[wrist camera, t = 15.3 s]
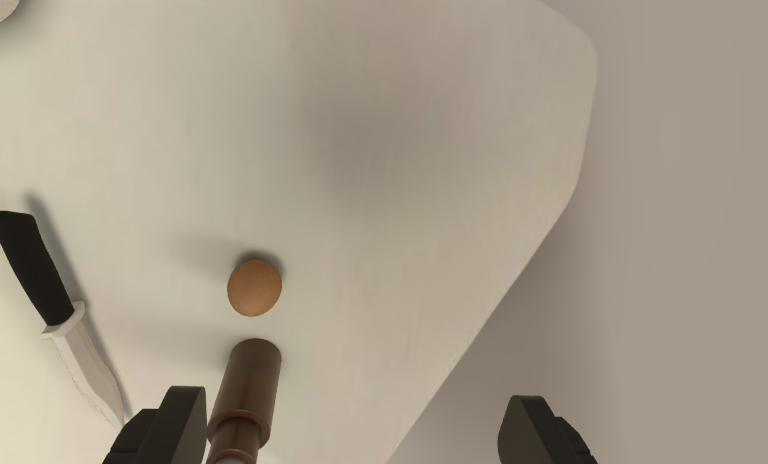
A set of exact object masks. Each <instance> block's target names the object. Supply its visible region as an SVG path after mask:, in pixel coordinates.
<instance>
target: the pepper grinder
mask: <svg viewBox="0 0 768 464" xmlns="http://www.w3.org/2000/svg"><path fill="white" fill-rule="evenodd" d="M280 366H281V354H280V352H279V350H278V348H277V347H276V346H275V345H273V344H272V343H270V342H268V341H266V340H262V339H249V340H245V341H243V342H241V343H239V344H238V345H237V346H236V347H235V348H234V349H233V350H232V352H231V355H230V358H229V361H228V364H227V368H226V371H225V374H224V377H223V380H222V383H221V386H220V389H219V392H218V395H217V398H216V401H215V404H214V408H213V411H212V414H211V417H210V420H209V423H208V426H207V438H208V441H209V442H210V444H211V447H210V451H209V454H208V457H207V461H206V464H256V462H257V456H258V450H259V449H260V448H262V447H263V446H264V445H265V444H266V443H267V441H268V439H269V437H270V431H271V425H272V418H273V412H274V405H275V399H276V392H277V386H278V379H279V373H280Z"/></svg>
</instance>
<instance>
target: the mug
mask: <svg viewBox="0 0 768 464" xmlns="http://www.w3.org/2000/svg"><path fill="white" fill-rule="evenodd" d="M19 1H20V0H0V22H1V21H3V20H4V19H6V18H7V17H8V16H9V15H10V14H11V13H12V12H13V11H14V10H15V8H16V7H17V5H18V3H19Z"/></svg>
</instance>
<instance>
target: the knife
mask: <svg viewBox="0 0 768 464" xmlns="http://www.w3.org/2000/svg"><path fill="white" fill-rule="evenodd" d="M0 244H1V246H2V248H3V250H4V252H5V254H6V257H7V259H8V261H9V263H10V265H11V267H12V269H13V271H14V273H15V275H16V276H17V278H18V280H19V282H20V283H21V285H22V287H23V289H24V290H25V292H26V294H27V295H28V297H29V299H30V300H31V302H32V303H33V305H34V306H35V308H36V309H37V311H38V312H39V314H40V315H41V316H42V318H43V319H44V321H45V322H46V324H47V326H46V327H45V329H44V331H43V332H42V333H41V334H40V336H41V338H42V339H52V341H53V342H54V344H55V346H56V348H57V350H58V352H59V354H60V356H61V357H62V359H63V361H64V363H65V365H66V367H67V369H68V371H69V373H70V374H71V376H72V378H73V380H74V382H75V384H76V386H77V387H78V389H79V390H80V392H81V393H82V394H83V395H84V396H85V397H86V398H87V399H88V400H90V401H91V402H92V403H93V404H94V405H95V406H96V407H97V408H98V409H99V410H100V412H101V413H102V414H103V416H104V417H105V418H106V420H107V421H108V423H109V425H110V426H111V428H112V429H113V430H114V431H115V432H116V433H117V434H118V435H119V433H120V431H121V429H122V428H123V426H124V425H125V420H124V410H123V405H122V400H121V395H120V392H119V389H118V386H117V383H116V381H115V378H114V376H113V375H112V373H111V371H110V370H109V369H108V367H107V366H106V365H105V363H104V362H103V360H102V359H101V358H100V356H99V355H98V353H97V351H96V350H95V348H94V346H93V345H92V343H91V341H90V339H89V337H88V335H87V333H86V331H85V329H84V327H83V324H82V322H81V318H82V317H83V315H84V313H85V305H84V302H83V301H75V302H73V303H71V301H70V299H69V296H68V294H67V292H66V290H65V288H64V285H63V283H62V281H61V278H60V276H59V274H58V271H57V269H56V267H55V265H54V263H53V261H52V259H51V257H50V255H49V253H48V251H47V249H46V247H45V245H44V243H43V240H42V238H41V235H40V233H39V230H38V227H37V224H36V221H35V218H34V217H33V216H32V215H30V214H25V213H17V212H11V211H0Z"/></svg>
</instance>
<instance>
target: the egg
mask: <svg viewBox="0 0 768 464" xmlns="http://www.w3.org/2000/svg"><path fill="white" fill-rule="evenodd" d="M281 289H282V282H281V277H280V274H279V272H278V271H277V270H276V269H275V267H274V266H273V265H271V264H270V263H268V262H266V261H263V260H250V261H247V262H244V263H242V264H241V265H239V266H238V267H237V268H236V269H235V270H234V271H233V272H232V274H231V276H230V278H229V281H228V286H227V292H228V298H229V301H230V303H231V305H232V307H233V308H234V309H235V310H236V311H237V312H238V313H240V314H242V315H244V316H249V317H253V316H258V315H261V314H263V313H265V312H267V311H268V310H269V309H271V308H272V307H273V306H274V304H275V303H276V302H277V300H278V298H279V296H280V293H281Z"/></svg>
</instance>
